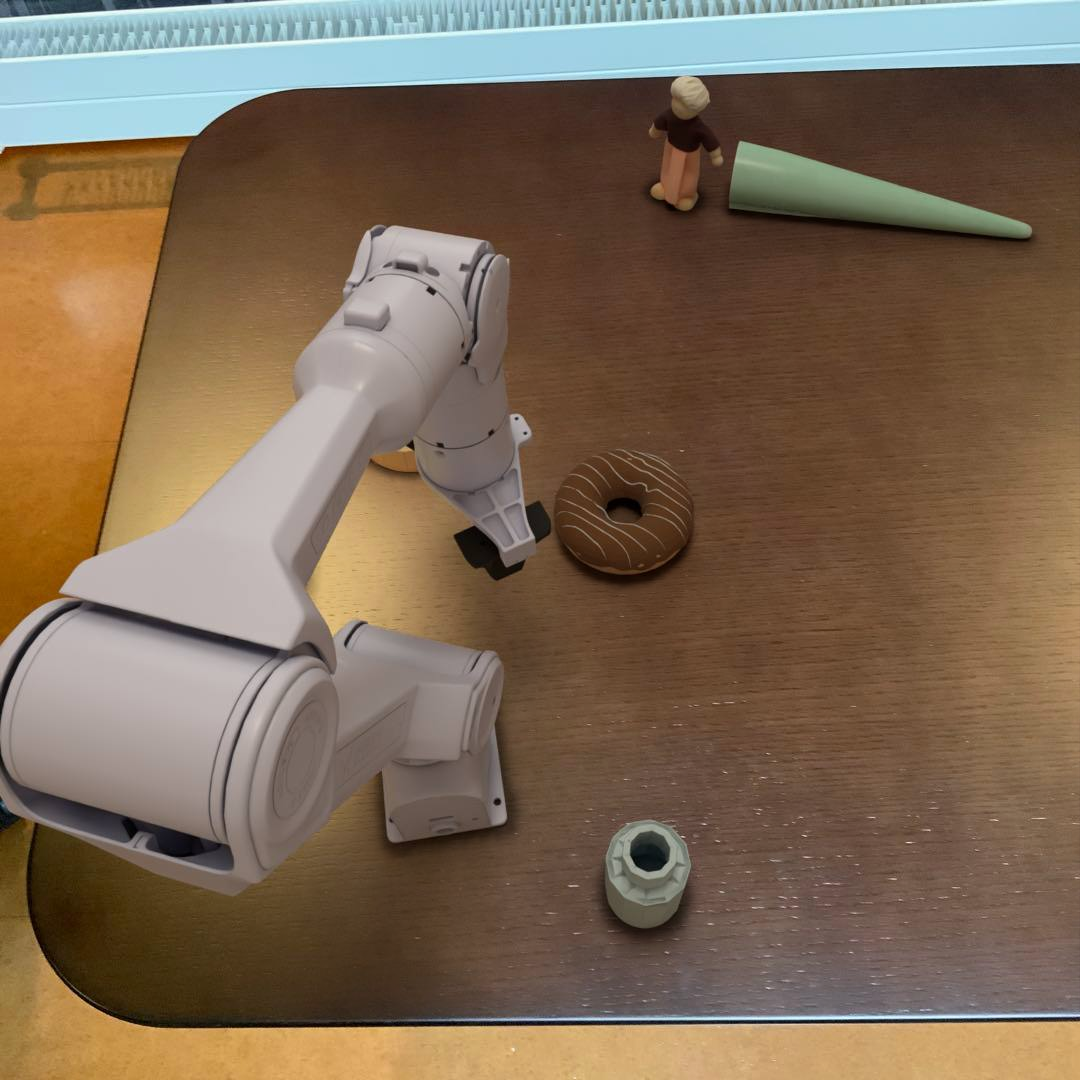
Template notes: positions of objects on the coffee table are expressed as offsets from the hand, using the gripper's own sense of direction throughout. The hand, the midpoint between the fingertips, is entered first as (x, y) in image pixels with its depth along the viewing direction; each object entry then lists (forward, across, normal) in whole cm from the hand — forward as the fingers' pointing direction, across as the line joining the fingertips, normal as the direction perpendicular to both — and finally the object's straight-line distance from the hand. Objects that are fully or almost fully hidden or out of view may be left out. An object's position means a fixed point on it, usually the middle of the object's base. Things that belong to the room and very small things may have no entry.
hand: (482, 525), depth 70 cm
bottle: (+9, -24, +1) cm, 26 cm away
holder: (+10, +17, -1) cm, 20 cm away
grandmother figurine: (+11, +29, -33) cm, 45 cm away
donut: (+10, 0, -11) cm, 15 cm away
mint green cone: (+11, +18, -47) cm, 52 cm away
